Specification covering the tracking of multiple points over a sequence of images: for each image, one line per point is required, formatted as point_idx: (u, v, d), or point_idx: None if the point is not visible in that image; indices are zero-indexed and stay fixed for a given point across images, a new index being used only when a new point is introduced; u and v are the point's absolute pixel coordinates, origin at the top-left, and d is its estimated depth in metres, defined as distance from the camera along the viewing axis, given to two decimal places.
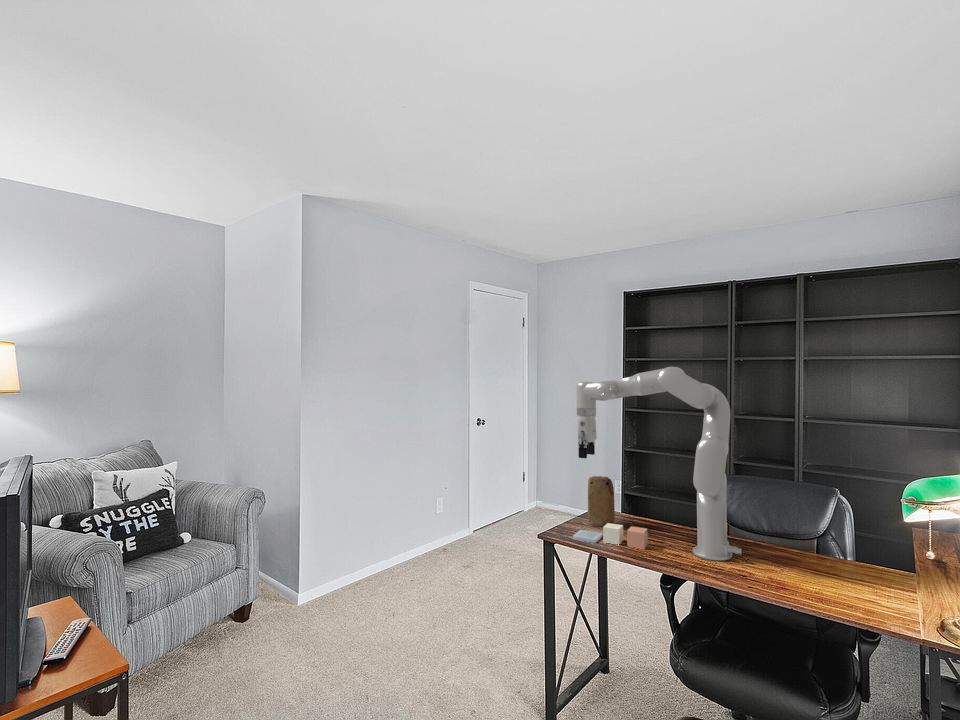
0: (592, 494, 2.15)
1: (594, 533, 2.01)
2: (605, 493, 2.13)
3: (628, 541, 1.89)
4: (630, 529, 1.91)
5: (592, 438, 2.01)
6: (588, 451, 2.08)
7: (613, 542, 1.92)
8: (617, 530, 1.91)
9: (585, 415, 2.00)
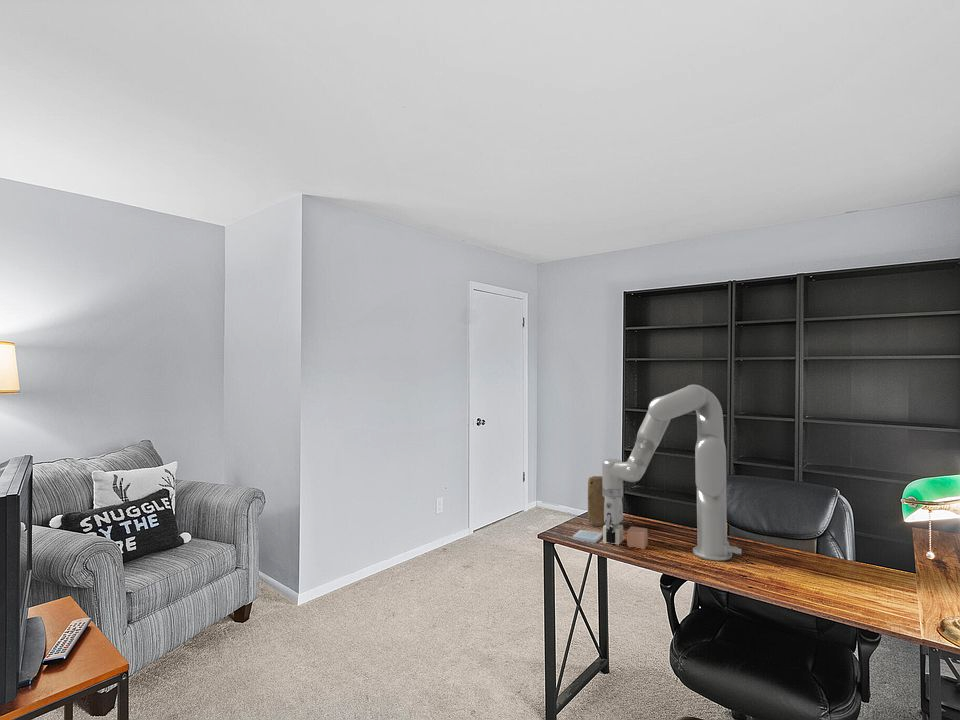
0: (592, 494, 2.15)
1: (594, 533, 2.01)
2: None
3: (628, 541, 1.89)
4: (630, 529, 1.91)
5: (619, 520, 1.92)
6: None
7: None
8: (617, 530, 1.91)
9: (612, 496, 1.92)
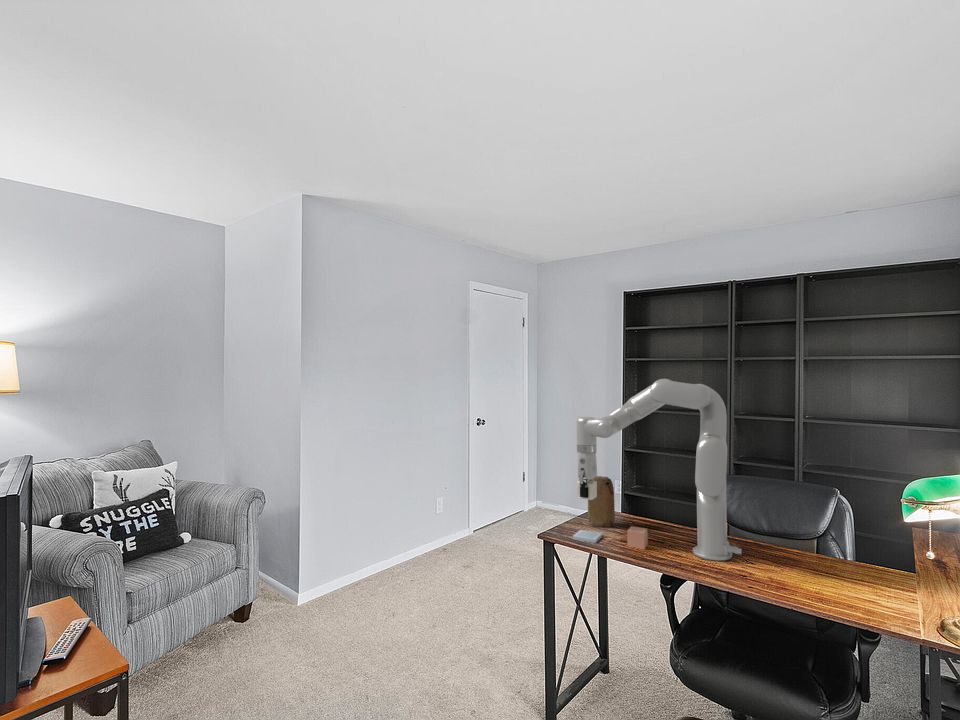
0: None
1: (594, 533, 2.01)
2: (605, 493, 2.13)
3: (628, 541, 1.89)
4: (630, 529, 1.91)
5: (592, 476, 1.97)
6: None
7: None
8: (590, 485, 1.97)
9: (585, 452, 1.97)
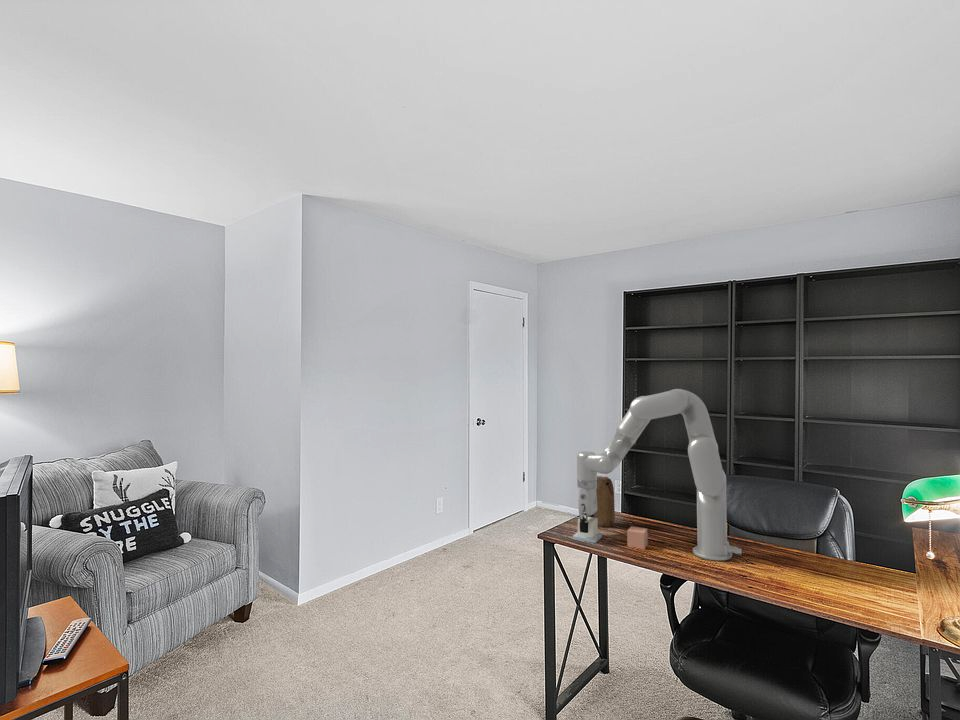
0: None
1: None
2: (605, 493, 2.13)
3: (628, 541, 1.89)
4: (630, 529, 1.91)
5: (592, 511, 1.97)
6: None
7: (587, 534, 1.97)
8: (591, 523, 1.96)
9: (586, 488, 1.97)
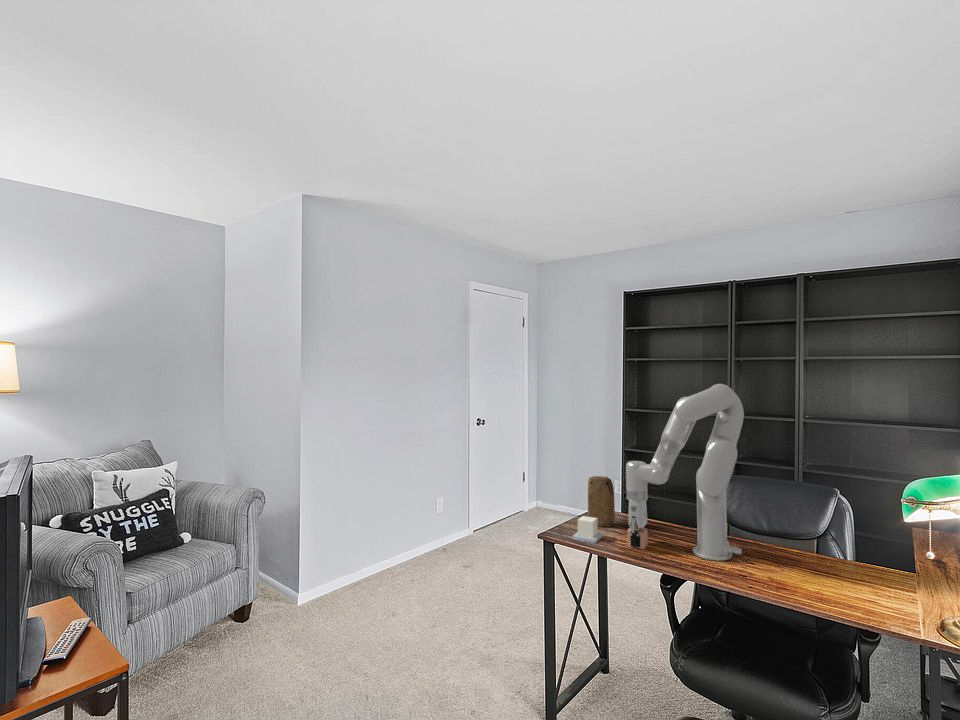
0: (592, 494, 2.15)
1: None
2: (605, 493, 2.13)
3: (628, 541, 1.89)
4: (630, 529, 1.91)
5: (643, 524, 1.88)
6: None
7: (587, 534, 1.97)
8: (591, 523, 1.96)
9: (636, 499, 1.87)
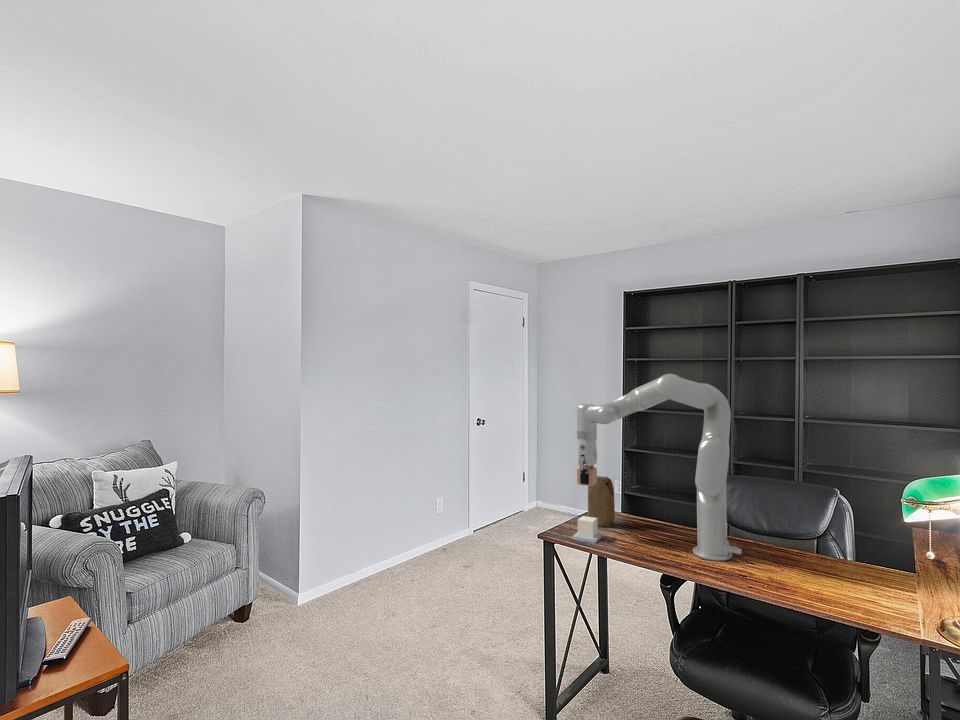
0: (592, 494, 2.15)
1: None
2: (605, 493, 2.13)
3: (578, 479, 1.99)
4: None
5: (592, 462, 1.97)
6: None
7: (587, 534, 1.97)
8: (591, 523, 1.96)
9: (585, 438, 1.97)
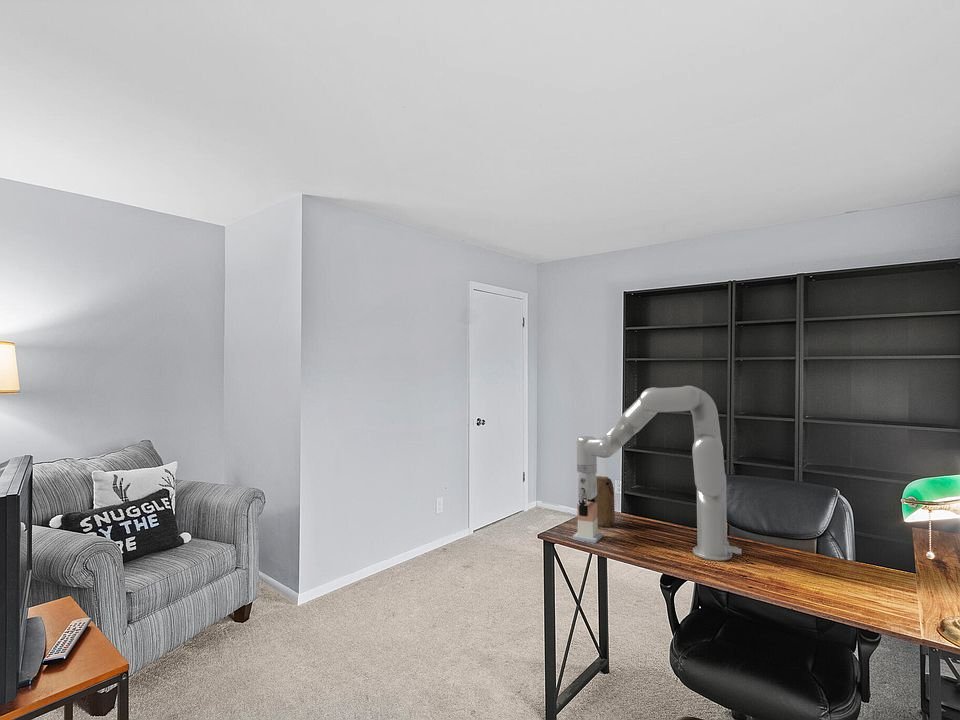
0: None
1: None
2: (605, 493, 2.13)
3: (578, 514, 1.99)
4: None
5: (592, 495, 1.97)
6: None
7: (587, 534, 1.97)
8: (591, 523, 1.96)
9: (586, 472, 1.97)
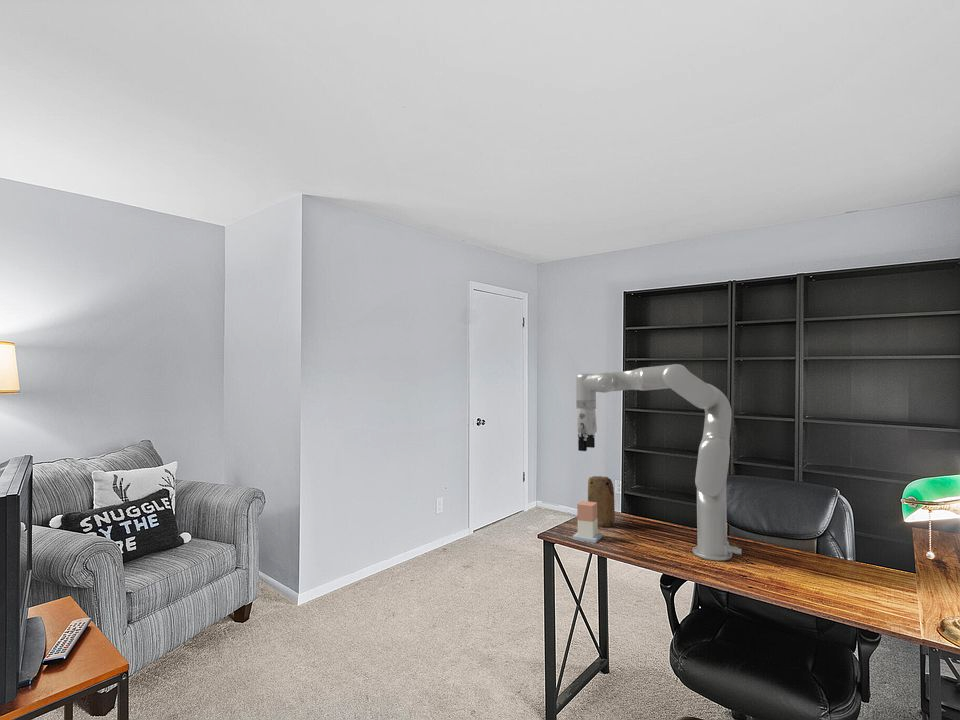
0: (592, 494, 2.15)
1: None
2: (605, 493, 2.13)
3: (578, 514, 1.99)
4: (580, 503, 2.01)
5: (591, 431, 1.98)
6: (588, 444, 2.05)
7: (587, 534, 1.97)
8: (591, 523, 1.96)
9: (585, 407, 1.97)
